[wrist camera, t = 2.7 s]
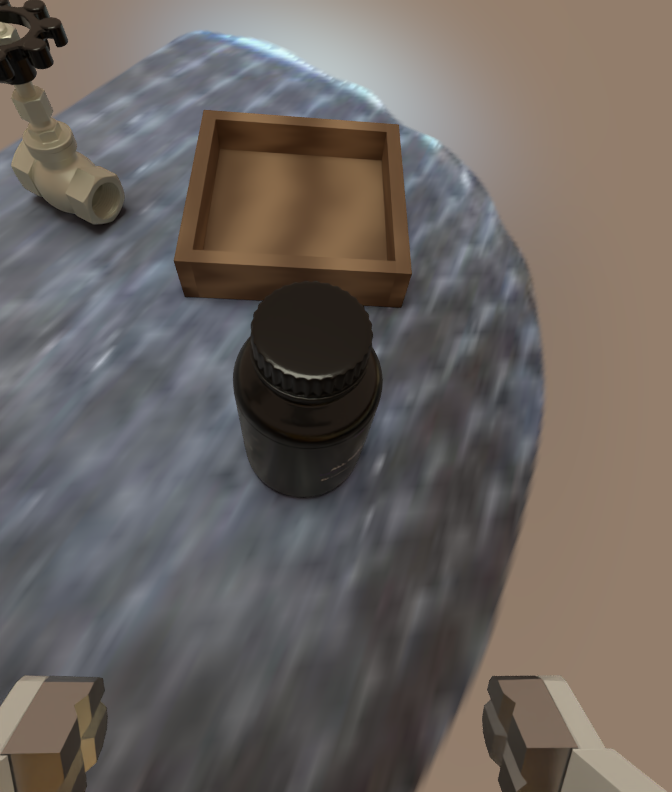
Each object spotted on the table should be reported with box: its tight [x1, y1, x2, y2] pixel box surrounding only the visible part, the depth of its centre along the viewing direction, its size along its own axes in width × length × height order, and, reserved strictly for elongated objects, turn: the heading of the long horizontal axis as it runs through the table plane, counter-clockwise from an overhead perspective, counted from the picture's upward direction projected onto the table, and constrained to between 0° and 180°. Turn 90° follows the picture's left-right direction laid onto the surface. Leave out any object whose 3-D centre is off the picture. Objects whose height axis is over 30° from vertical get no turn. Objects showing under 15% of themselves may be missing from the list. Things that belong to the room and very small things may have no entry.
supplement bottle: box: [233, 281, 383, 497], centre depth 24 cm, size 7×7×12 cm
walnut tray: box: [174, 110, 412, 307], centre depth 36 cm, size 15×15×4 cm
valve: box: [0, 0, 125, 224], centre depth 32 cm, size 7×7×12 cm
